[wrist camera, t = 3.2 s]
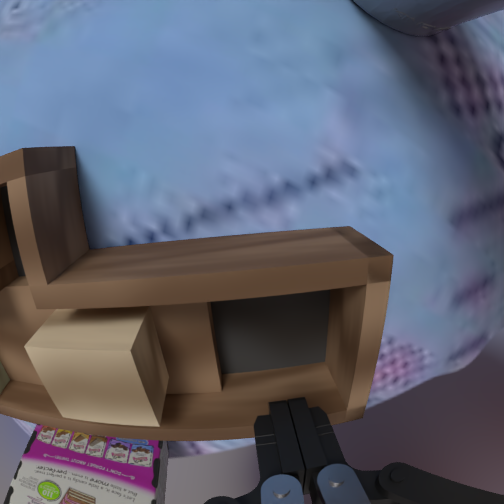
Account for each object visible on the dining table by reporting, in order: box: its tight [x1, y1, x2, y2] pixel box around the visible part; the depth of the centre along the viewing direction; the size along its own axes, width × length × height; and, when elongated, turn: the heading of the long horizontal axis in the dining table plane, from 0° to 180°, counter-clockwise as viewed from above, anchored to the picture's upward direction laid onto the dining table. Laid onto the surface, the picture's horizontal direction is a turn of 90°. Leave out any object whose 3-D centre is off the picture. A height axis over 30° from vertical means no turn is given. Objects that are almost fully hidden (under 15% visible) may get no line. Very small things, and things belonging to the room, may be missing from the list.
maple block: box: [24, 306, 169, 427], centre depth 13 cm, size 5×6×4 cm
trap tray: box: [0, 146, 393, 441], centre depth 14 cm, size 16×27×5 cm, turn 94°
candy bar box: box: [4, 424, 169, 504], centre depth 13 cm, size 11×5×16 cm, turn 84°
